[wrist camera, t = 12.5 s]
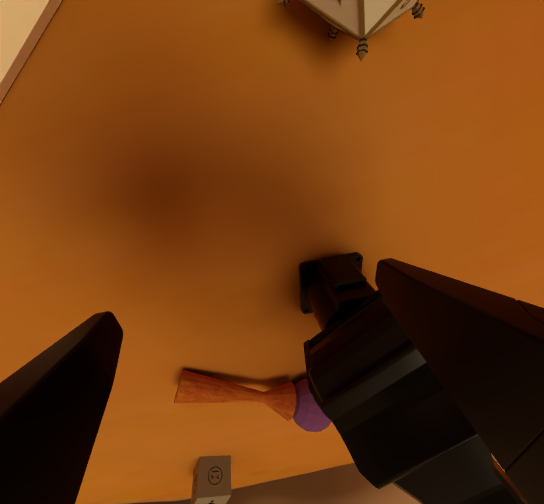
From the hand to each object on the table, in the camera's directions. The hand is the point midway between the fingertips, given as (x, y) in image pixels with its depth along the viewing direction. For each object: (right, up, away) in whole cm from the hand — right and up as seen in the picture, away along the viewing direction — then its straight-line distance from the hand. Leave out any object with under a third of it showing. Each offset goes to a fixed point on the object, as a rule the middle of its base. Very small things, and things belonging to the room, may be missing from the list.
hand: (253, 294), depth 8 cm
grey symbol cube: (-10, -34, +33) cm, 48 cm away
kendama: (-1, -15, +24) cm, 28 cm away
